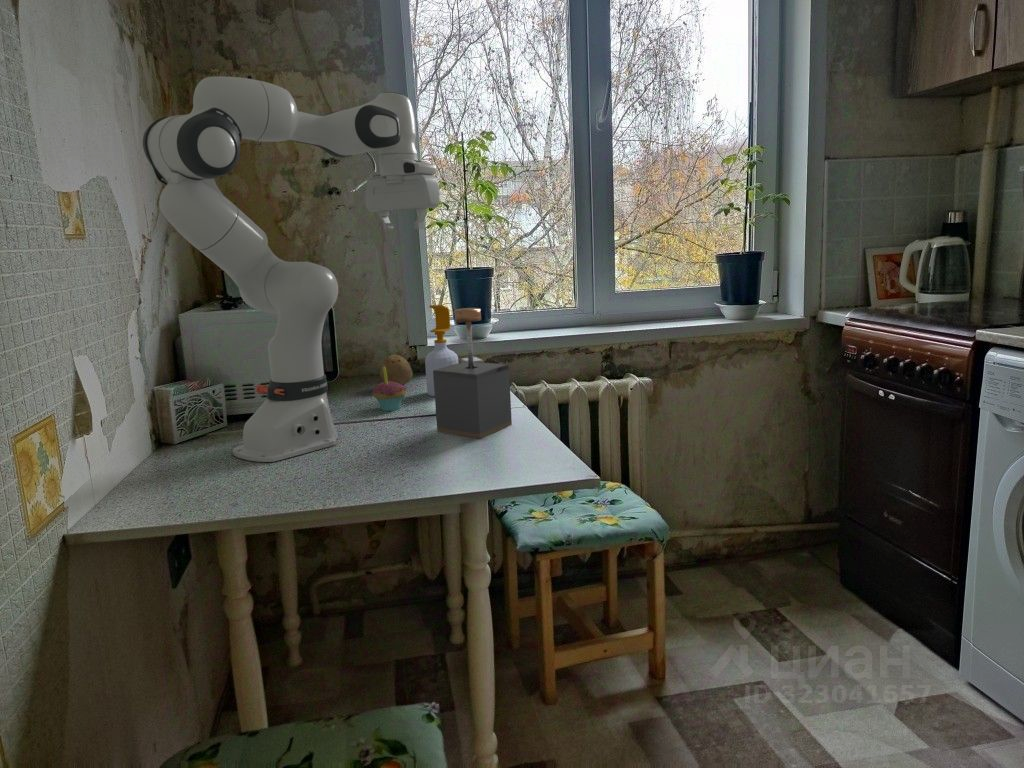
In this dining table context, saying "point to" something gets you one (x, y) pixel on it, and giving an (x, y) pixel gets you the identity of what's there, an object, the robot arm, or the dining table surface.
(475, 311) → the plunger
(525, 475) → the dining table surface
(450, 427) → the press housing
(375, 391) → the cupcake
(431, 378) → the soap bottle
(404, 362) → the natural sponge
